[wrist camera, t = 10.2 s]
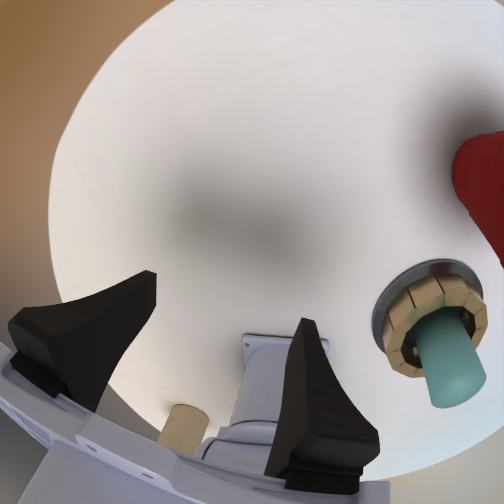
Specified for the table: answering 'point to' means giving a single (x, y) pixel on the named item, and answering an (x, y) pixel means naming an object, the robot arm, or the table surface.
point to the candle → (184, 429)
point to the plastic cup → (483, 185)
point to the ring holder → (426, 309)
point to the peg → (447, 358)
